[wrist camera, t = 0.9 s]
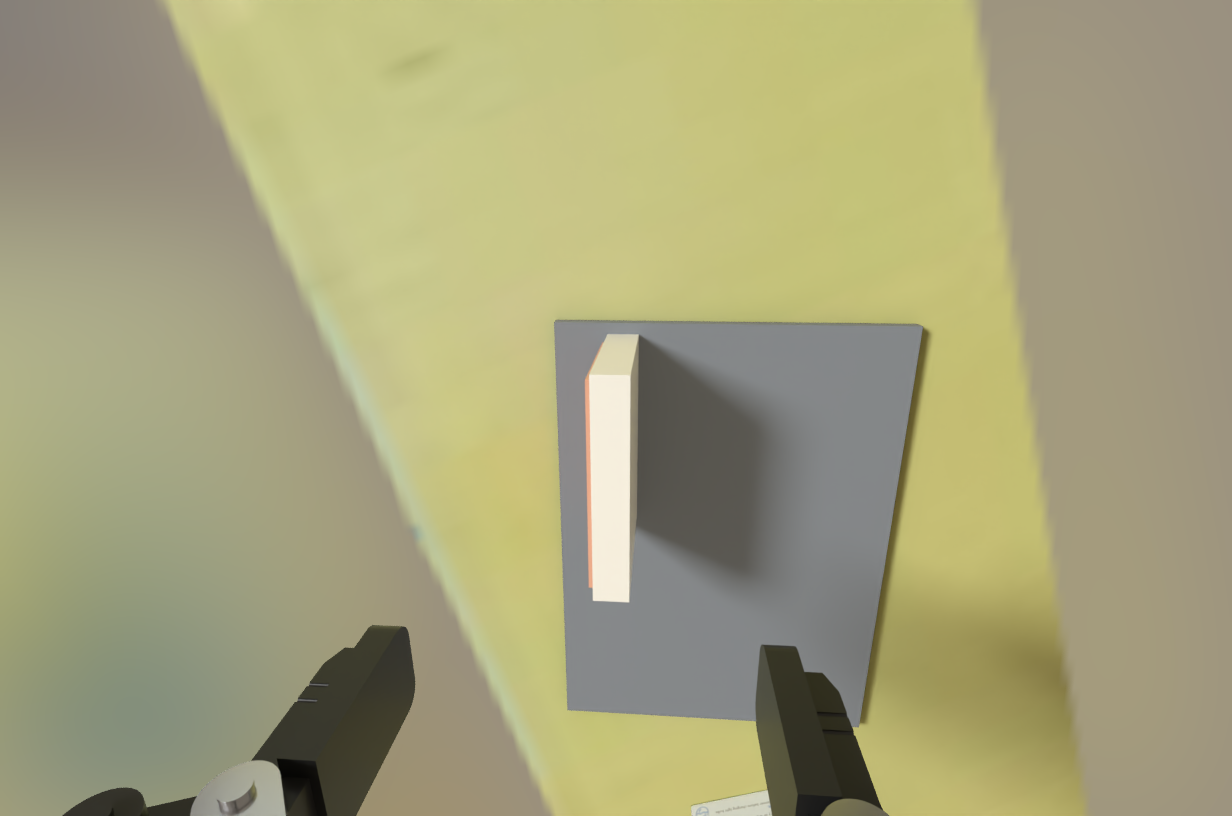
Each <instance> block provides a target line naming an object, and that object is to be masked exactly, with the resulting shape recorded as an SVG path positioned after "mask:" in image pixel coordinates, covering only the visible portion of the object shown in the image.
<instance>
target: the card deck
mask: <svg viewBox="0 0 1232 816" xmlns="http://www.w3.org/2000/svg"><path fill="white" fill-rule="evenodd" d="M638 363H639V334H607V336H606V339H605V341H604V342H602V344H601V346H600V348H599V351H598V353H597V355H596V357H595V359H594V361H593V363H592V366H591V368H590V370H589V372H588V374H587V376H586V378H585V414H586V467H587V519H588V571H589V588H593V601H609V602H629V599H630V588H631V576H632V565H633V554H634V542H635V531H636V520H637V462H638Z"/></svg>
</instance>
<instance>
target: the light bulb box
mask: <svg viewBox="0 0 1232 816" xmlns="http://www.w3.org/2000/svg"><path fill="white" fill-rule="evenodd" d="M691 813H692V816H772V812H771V806H770V800H769V795H768V790H764V791H760V792H754V793H750V794H745V795H740V796H735V797H731V798H725V799H721V800H716V801H711V802H706V803H701V804H696V805H692V806H691Z"/></svg>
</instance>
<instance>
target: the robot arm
mask: <svg viewBox="0 0 1232 816" xmlns="http://www.w3.org/2000/svg"><path fill="white" fill-rule="evenodd" d="M414 692H415V676H414V669H413V661H412V654H411V647H410V640H409V634H408V630H407V629H406V627H402V626H401V627H399V626H379V625H372V626H370V627H369V628H368V629H367V631H366V632H365V633H364V635H363V636H362V638H361V639H360V641H359V642H358V643H357V645H356V646H355V648H344V649H343V650H341V651H340V652H339V653H337V654H336V655H335V656H333V657H332V658H331V659H329V660H328V661H327V662H325V663H324V664H323V665H322V667H321V668H320V669H319V671H318V672H317V673H316V675H315V676H314V677H313V679H312V680H311V681H310V685H309V686H307V687H306V688H305V690H304V691H303V692H302V694H301V695H300V697H299V698H298V701H297V702H295V703H294V704H293V706H292V707H291V708H290V710H289V711H288V712H287V714H286V715H285V716H284V718H283V719H282V720H281V722H280V723H279V724H278V726H277V727H276V728H275V730H274V731H273V732H272V734H271V735H270V737H269V738H268V739H267V741H266V742H265V743H264V744H263V746H262V747H261V748H260V750H259V751H258V753H257V754H256V755H255V756H254V758H253V759H252V760H251V761H249V762H245V763H241V764H239V765H236V766H234V767H232V768H229V769H227V770H226V771H224V772H223V773H221V774H219V775H218V776H216V777H215V778H214V779H213V780H211V781H210V782H209V783H208V784H207V785H206V786H205V787H204V788H203V789H202V790H201V792H200V793H199V794H198V796H196V797H192V798H188V799H183V800H179V801H174V802H170V803H165V804H161V805H157V806H152V807H146V804H145V801H144V798H143V796H142V794H141V793H140V792H139V791H137V790H135V789H132V788H116V789H111V790H108V791H105V792H102V793H99V794H97V795H94V796H92V797H90V798H88V799H86V800H84V801H83V802H81V803H79V804H78V805H76V806H75V807H73V808H72V809H70V810H69V811H68V812H66V813H65V814H64V815H63V816H356V815H357V812H358V811H359V809H360V807H361V805H362V803H363V801H364V799H365V797H366V795H367V793H368V791H369V789H370V787H371V785H372V783H373V781H374V779H375V777H376V775H377V773H378V771H379V769H380V767H381V765H382V763H383V761H384V759H385V758H386V756H387V754H388V752H389V749H390V748H391V746H392V744H393V742H394V740H395V738H396V736H397V734H398V732H399V730H400V728H401V726H402V724H403V722H404V720H405V718H406V716H407V714H408V712H409V710H410V708H411V705H412V702H413V698H414ZM755 711H756V726H757V733H758V739H759V744H760V750H761V756H762V761H763V767H764V772H765V778H766V784H767V789H768V795H769V800H770V806H771V812H772V816H889V815H888V814H887V813H886V812H884V811H883V809H882V807H881V805H880V803H879V800H878V797H877V794H876V792H875V789H874V786H873V783H872V781H871V778H870V775H869V772H868V770H867V767H866V764H865V761H864V759H863V756H862V753H861V750H860V748H859V745H858V742H857V739H856V737H855V736H854V733H853V728H852V726H851V723H850V720H849V718H847V712H846V709H845V706H844V704H843V701H842V698H841V695H840V693H839V691H838V690H837V689H836V688H835V686H834V685H833V684H832V683H831V682H830V681H829V680H828V678H827V677H826V676H825V675H824V674H823V673H818V672H804V669H803V666H802V662H801V659H800V656H799V652H798V649H797V648H796V646H783V645H761V647H760V654H759V665H758V677H757V689H756V702H755Z"/></svg>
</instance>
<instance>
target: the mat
mask: <svg viewBox="0 0 1232 816" xmlns="http://www.w3.org/2000/svg"><path fill="white" fill-rule="evenodd" d="M554 330H555V359H556V388H557V417H558V446H559V475H560V503H561V532H562V561H563V590H564V619H565V648H566V676H567V705H568V710H575V711H592V712H609V713H626V714H643V715H660V716H677V717H694V718H711V719H728V720H745V721H756V711H755V702H756V689H757V677H758V665H759V654H760V647H761V645H783V646H796V648H797V649H798V652H799V656H800V659H801V662H802V666H803V669H804V672H818V673H823V674H824V675H825V676H826V677H827V678H828V680H829V681H830V682H831V683H832V684H833V685H834V686H835V688H836V689H837V690H838V691H839V693H840V695H841V698H842V701H843V704H844V706H845V709H846V712H847V718H849V720H850V723H851V726H852V727H859V723H860V716H861V710H862V704H863V698H864V692H865V685H866V679H867V673H868V667H869V660H870V654H871V648H872V642H873V635H874V629H875V623H876V617H877V611H878V604H879V598H880V592H881V586H882V579H883V573H884V567H885V561H886V554H887V548H888V542H889V536H890V529H891V523H892V517H893V511H894V505H895V498H896V492H897V486H898V480H899V473H900V467H901V461H902V455H903V448H904V442H905V436H906V430H907V423H908V417H909V411H910V405H911V399H912V392H913V386H914V380H915V374H916V367H917V361H918V355H919V349H920V342H921V336H922V330H923V326H921V325H918V324H871V323H782V322H693V321H605V320H556V321H555V322H554ZM607 334H639V363H638V462H637V520H636V531H635V542H634V554H633V565H632V576H631V588H630V599H629V602H609V601H593V588H589V571H588V519H587V467H586V414H585V378H586V376H587V374H588V372H589V370H590V368H591V366H592V363H593V361H594V359H595V357H596V355H597V353H598V351H599V348H600V346H601V344H602V342H604V341H605V339H606V336H607Z"/></svg>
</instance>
